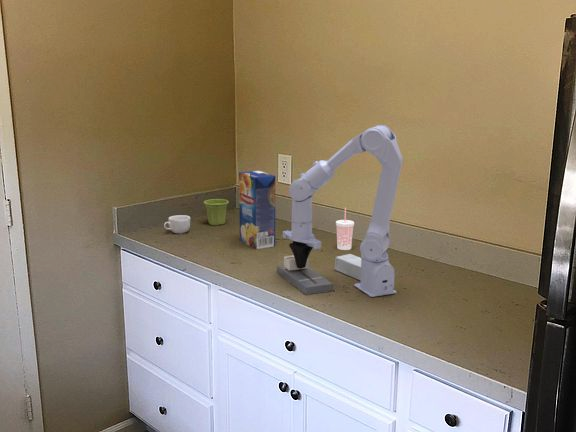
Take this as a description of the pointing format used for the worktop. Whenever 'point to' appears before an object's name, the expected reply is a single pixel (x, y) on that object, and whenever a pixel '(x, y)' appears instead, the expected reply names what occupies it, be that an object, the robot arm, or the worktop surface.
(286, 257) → the fader
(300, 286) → the mixing panel
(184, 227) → the teacup
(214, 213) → the plant pot
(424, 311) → the worktop surface
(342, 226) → the beverage cup
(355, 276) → the skincare box
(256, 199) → the juice carton
